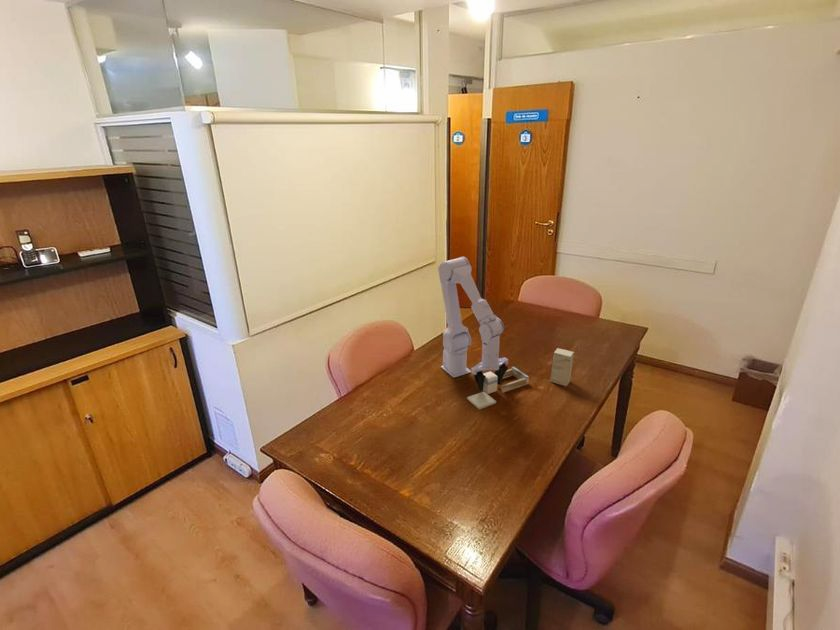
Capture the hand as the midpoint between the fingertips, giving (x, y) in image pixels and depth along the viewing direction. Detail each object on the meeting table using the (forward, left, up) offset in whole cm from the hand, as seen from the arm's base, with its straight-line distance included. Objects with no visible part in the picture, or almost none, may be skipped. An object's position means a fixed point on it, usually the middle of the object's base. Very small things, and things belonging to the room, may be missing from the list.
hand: (489, 386), depth 157 cm
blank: (0, 0, -2) cm, 2 cm away
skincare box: (+9, +26, -2) cm, 27 cm away
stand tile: (+4, -6, -1) cm, 8 cm away
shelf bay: (0, +9, -1) cm, 9 cm away
